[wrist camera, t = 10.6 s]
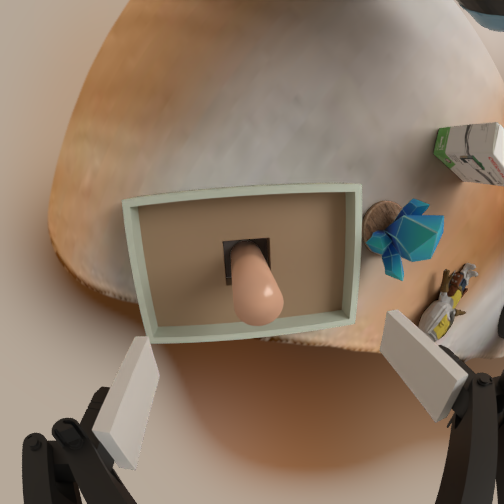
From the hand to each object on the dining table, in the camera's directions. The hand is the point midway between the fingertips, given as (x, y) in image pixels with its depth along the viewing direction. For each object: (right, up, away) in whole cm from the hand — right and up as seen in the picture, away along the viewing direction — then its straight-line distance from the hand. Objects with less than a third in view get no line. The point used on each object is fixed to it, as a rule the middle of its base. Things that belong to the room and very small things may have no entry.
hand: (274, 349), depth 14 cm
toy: (+31, -2, +24) cm, 39 cm away
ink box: (+29, +20, +18) cm, 39 cm away
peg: (-2, +5, +18) cm, 19 cm away
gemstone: (+16, +8, +19) cm, 26 cm away
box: (-2, +5, +18) cm, 19 cm away
